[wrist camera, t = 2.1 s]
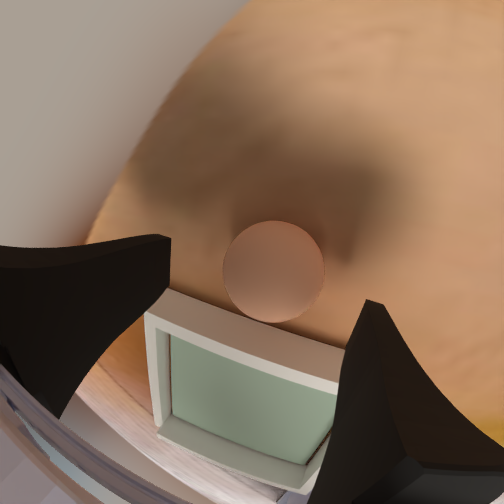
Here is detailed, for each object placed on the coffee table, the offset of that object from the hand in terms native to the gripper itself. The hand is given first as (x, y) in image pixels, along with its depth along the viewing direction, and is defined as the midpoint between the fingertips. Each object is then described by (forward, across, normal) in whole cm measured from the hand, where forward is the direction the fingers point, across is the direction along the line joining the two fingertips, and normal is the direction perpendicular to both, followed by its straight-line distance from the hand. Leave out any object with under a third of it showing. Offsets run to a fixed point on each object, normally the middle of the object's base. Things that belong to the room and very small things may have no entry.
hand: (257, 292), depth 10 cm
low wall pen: (+4, 0, +11) cm, 12 cm away
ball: (+4, 0, 0) cm, 4 cm away
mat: (+4, 0, +11) cm, 12 cm away
